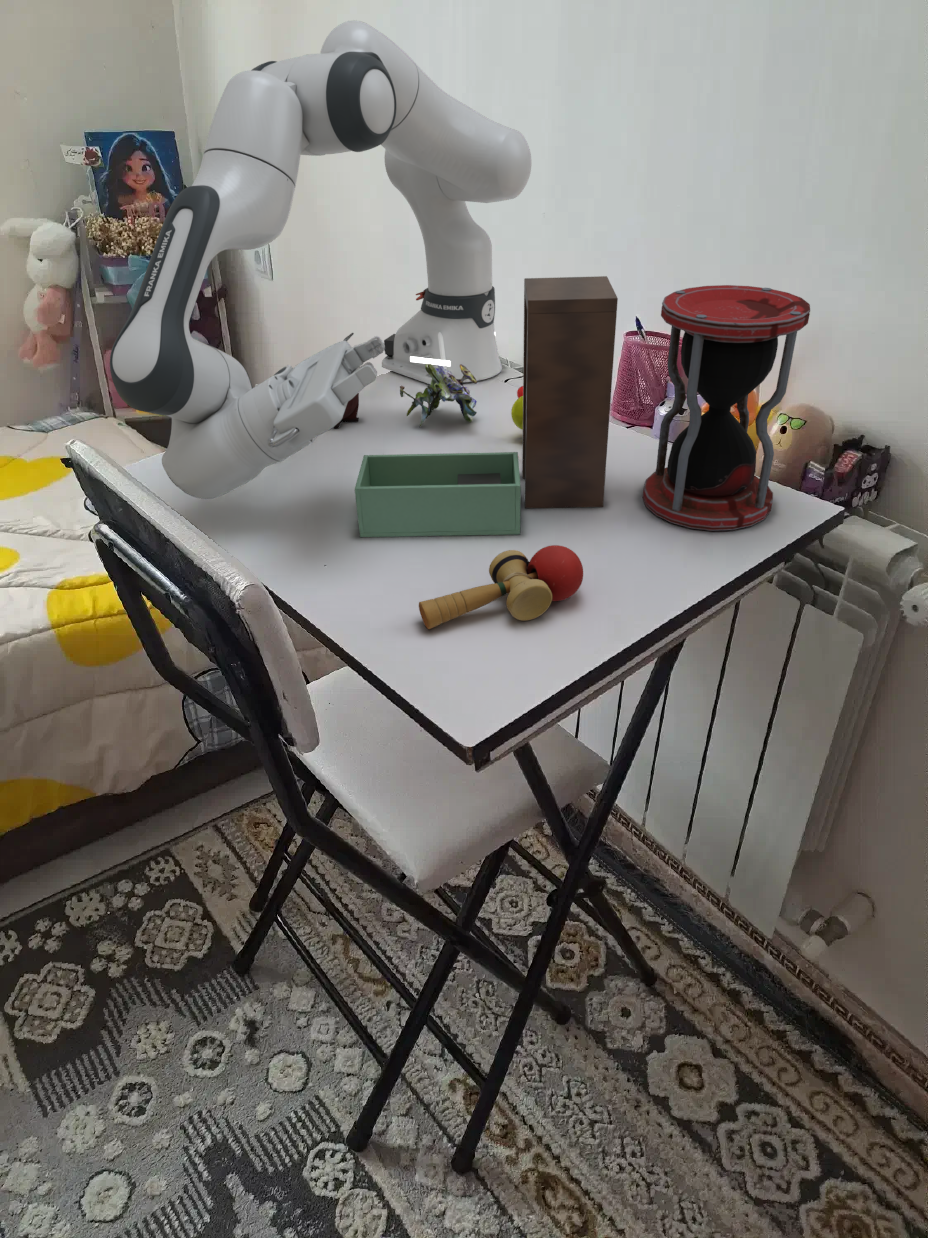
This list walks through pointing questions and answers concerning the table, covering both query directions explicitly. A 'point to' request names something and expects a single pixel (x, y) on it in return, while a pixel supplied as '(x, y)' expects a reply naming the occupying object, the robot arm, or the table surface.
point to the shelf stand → (567, 389)
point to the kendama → (514, 586)
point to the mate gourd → (350, 405)
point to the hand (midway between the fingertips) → (377, 355)
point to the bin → (437, 495)
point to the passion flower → (444, 392)
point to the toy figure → (518, 409)
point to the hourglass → (721, 403)
